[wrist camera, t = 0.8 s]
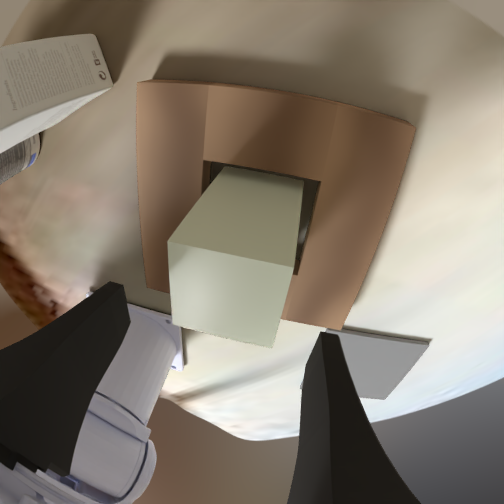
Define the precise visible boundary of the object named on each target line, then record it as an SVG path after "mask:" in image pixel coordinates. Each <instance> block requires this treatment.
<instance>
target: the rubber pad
mask: <svg viewBox="0 0 504 504" xmlns="http://www.w3.org/2000/svg"><path fill="white" fill-rule="evenodd" d="M326 332H327V333H332V334H338V336H339V337H340V341H341V345H342V348H343V352H344V355H345V359H346V362H347V365H348V368H349V371H350V374H351V377H352V380H353V383H354V385H355V388H356V391H357V394H358V396H359V397H361V398H371V399H382V400H385V399H386V398H387V397H388V395H389V394H390V393H391V392H392V391H393V390H394V389H395V387H396V386H397V385H398V384H399V383H400V382H401V380H402V379H403V378H404V377H405V376H406V374H407V373H408V372H409V371H410V370H411V368H412V367H413V366H414V365H415V363H416V362H417V361H418V360H419V358H420V357H421V356H422V354H423V353H424V352H425V350H426V349H427V348H428V346H429V343H428V342H424V341H417V340H409V339H402V338H396V337H389V336H382V335H376V334H370V333H364V332H358V331H352V330H346V329H341V330H336V329H331V328H327V330H326ZM303 380H304V379H303ZM302 386H303V382H302V384H301V386H300V389H302Z"/></svg>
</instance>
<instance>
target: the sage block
mask: <svg viewBox="0 0 504 504" xmlns="http://www.w3.org/2000/svg"><path fill="white" fill-rule="evenodd" d="M303 185H304V181H303V180H298V179H293V178H288V177H283V176H278V175H273V174H268V173H262V172H257V171H251V170H245V169H240V168H234V167H228V166H225V167H224V168H223V169H222V170H221V172H220V173H219V174H218V175H217V177H216V178H215V179H214V180H213V182H212V183H211V184H210V185H209V187H208V188H207V189H206V191H205V192H204V193H203V194H202V196H201V197H200V198H199V200H198V201H197V202H196V204H195V205H194V206H193V207H192V209H191V210H190V211H189V213H188V214H187V215H186V217H185V218H184V219H183V221H182V222H181V223H180V225H179V226H178V227H177V229H176V230H175V231H174V233H173V234H172V236H171V237H170V238H169V240H168V241H167V243H168V264H169V281H170V296H171V309H172V321H173V325H176V326H180V327H183V328H187V329H191V330H195V331H199V332H202V333H206V334H210V335H215V336H219V337H223V338H227V339H231V340H236V341H240V342H244V343H249V344H254V345H258V346H263V347H268V348H272V347H273V344H274V340H275V337H276V333H277V330H278V326H279V322H280V319H281V315H282V311H283V308H284V304H285V300H286V296H287V293H288V289H289V285H290V281H291V277H292V274H293V270H294V264H295V256H296V248H297V239H298V231H299V222H300V213H301V204H302V195H303Z"/></svg>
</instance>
